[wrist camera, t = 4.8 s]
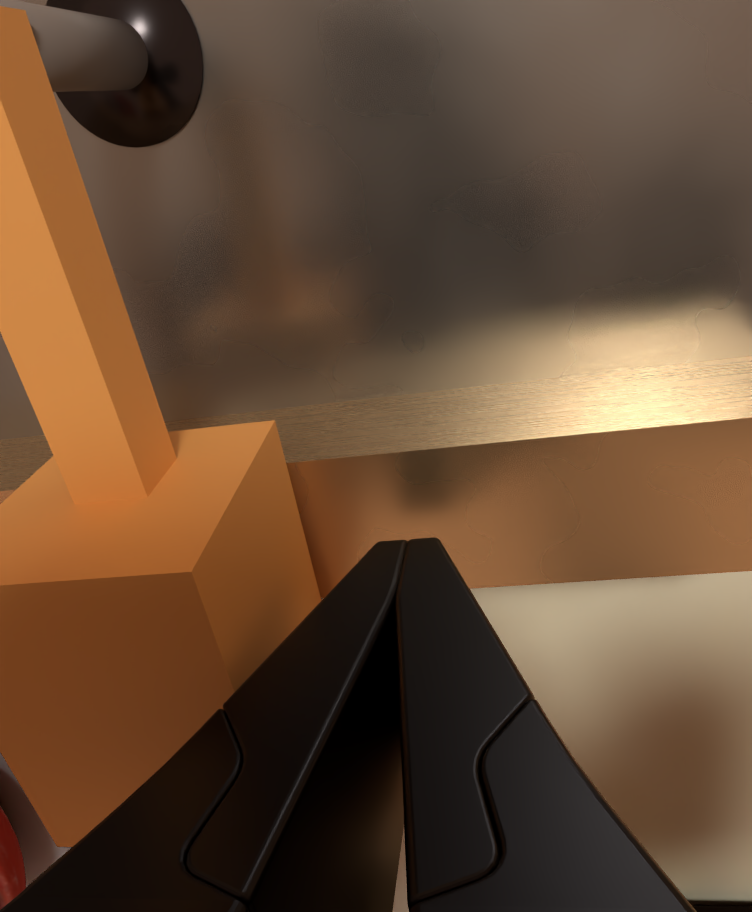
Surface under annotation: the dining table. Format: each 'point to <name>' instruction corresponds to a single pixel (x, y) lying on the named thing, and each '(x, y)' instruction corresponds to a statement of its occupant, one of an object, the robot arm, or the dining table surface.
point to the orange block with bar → (114, 480)
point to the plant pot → (10, 863)
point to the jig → (444, 268)
